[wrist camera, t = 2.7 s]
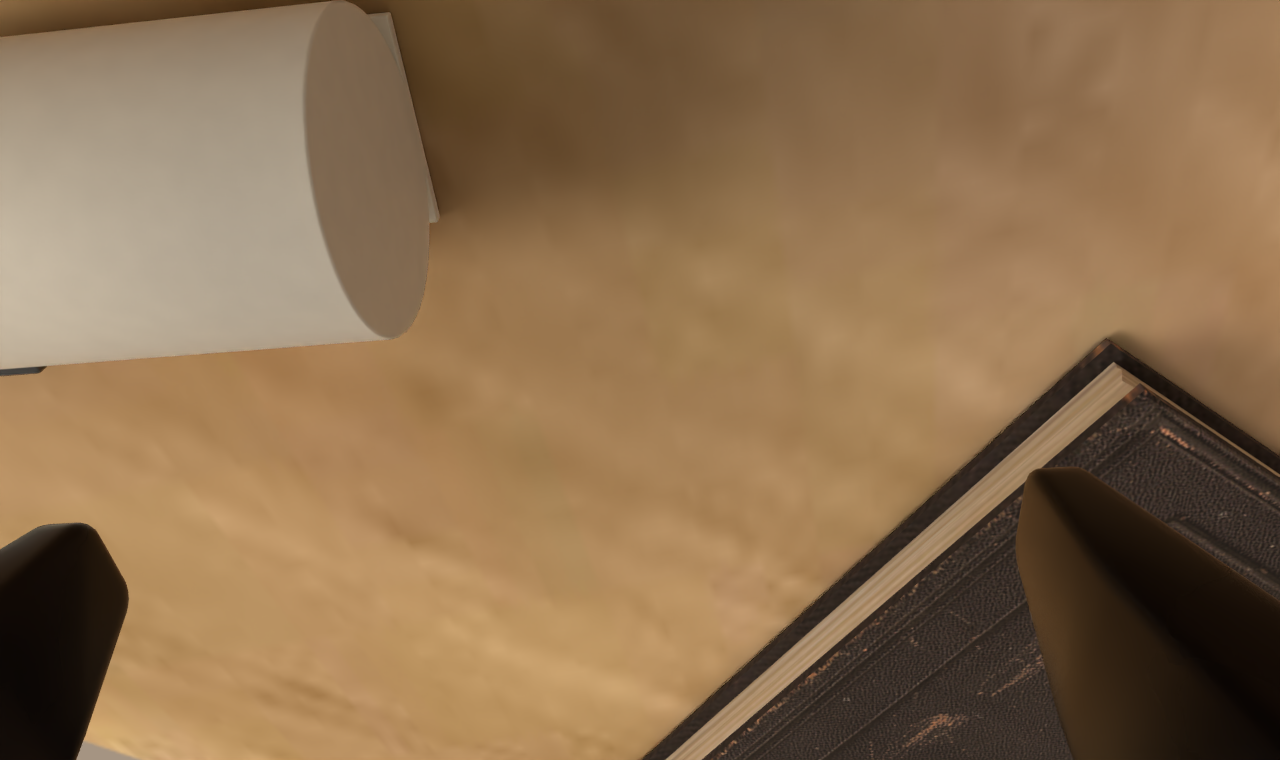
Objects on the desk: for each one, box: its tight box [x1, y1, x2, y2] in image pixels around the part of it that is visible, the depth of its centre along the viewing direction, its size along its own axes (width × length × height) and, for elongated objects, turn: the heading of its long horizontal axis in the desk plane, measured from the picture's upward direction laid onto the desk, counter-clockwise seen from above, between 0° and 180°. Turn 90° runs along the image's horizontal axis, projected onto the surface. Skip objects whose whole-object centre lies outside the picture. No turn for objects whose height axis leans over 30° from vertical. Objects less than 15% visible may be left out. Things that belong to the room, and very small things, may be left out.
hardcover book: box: [642, 338, 1280, 760], centre depth 29 cm, size 16×23×2 cm
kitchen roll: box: [0, 0, 440, 369], centre depth 18 cm, size 10×6×6 cm, turn 96°
